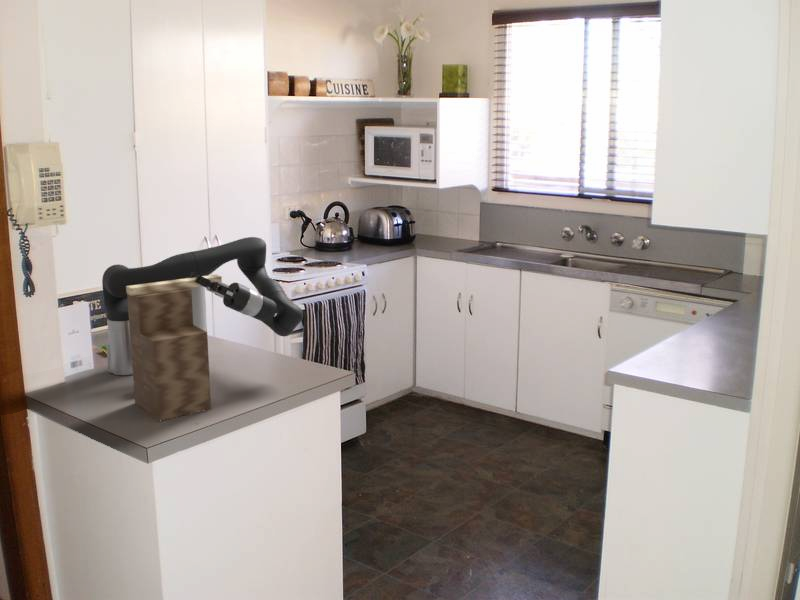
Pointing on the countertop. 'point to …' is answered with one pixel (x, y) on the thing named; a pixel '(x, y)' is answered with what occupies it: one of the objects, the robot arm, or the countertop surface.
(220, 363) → the countertop surface
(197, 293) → the cylinder vase
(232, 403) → the countertop surface
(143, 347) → the walnut step stand
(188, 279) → the maple slat
